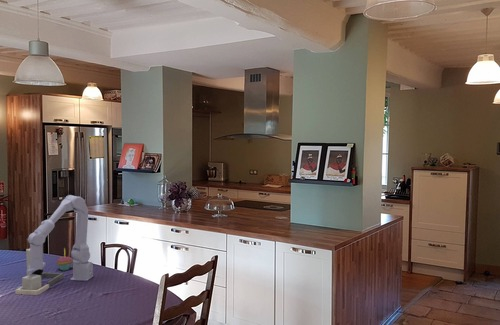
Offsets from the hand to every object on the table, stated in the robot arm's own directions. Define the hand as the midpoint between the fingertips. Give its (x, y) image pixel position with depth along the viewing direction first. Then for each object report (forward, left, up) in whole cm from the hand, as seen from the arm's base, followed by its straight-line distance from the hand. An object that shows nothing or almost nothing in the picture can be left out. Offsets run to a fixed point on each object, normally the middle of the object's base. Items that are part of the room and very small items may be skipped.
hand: (36, 284), depth 218 cm
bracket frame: (0, +4, -2) cm, 4 cm away
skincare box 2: (0, +4, -2) cm, 5 cm away
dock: (+1, -10, -2) cm, 10 cm away
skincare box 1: (+11, -18, -2) cm, 21 cm away
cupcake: (+2, -33, -2) cm, 33 cm away
